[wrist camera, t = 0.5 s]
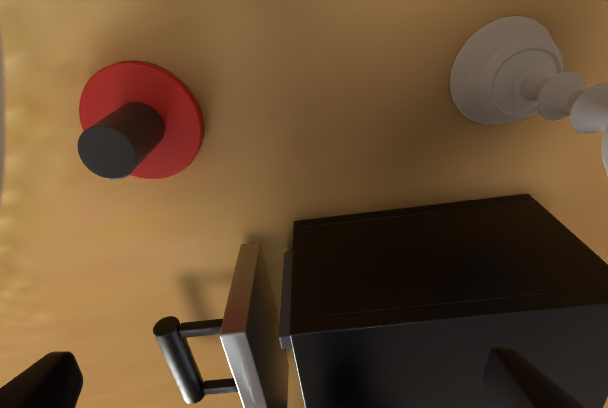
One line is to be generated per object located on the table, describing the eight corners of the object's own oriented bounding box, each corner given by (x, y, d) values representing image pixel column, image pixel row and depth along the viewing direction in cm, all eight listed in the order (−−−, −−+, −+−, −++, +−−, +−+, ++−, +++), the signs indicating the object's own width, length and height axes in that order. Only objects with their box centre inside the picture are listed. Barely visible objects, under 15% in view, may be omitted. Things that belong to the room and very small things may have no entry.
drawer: (206, 372, 28) (180, 476, 22) (159, 253, 23) (108, 346, 17) (447, 350, 27) (489, 452, 21) (457, 219, 22) (516, 305, 16)
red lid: (216, 167, 21) (197, 207, 17) (111, 181, 21) (69, 223, 17) (185, 52, 18) (153, 68, 14) (64, 69, 18) (1, 90, 15)
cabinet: (316, 357, 28) (322, 488, 21) (293, 220, 23) (289, 334, 15) (503, 340, 28) (578, 470, 20) (528, 193, 22) (647, 299, 14)
